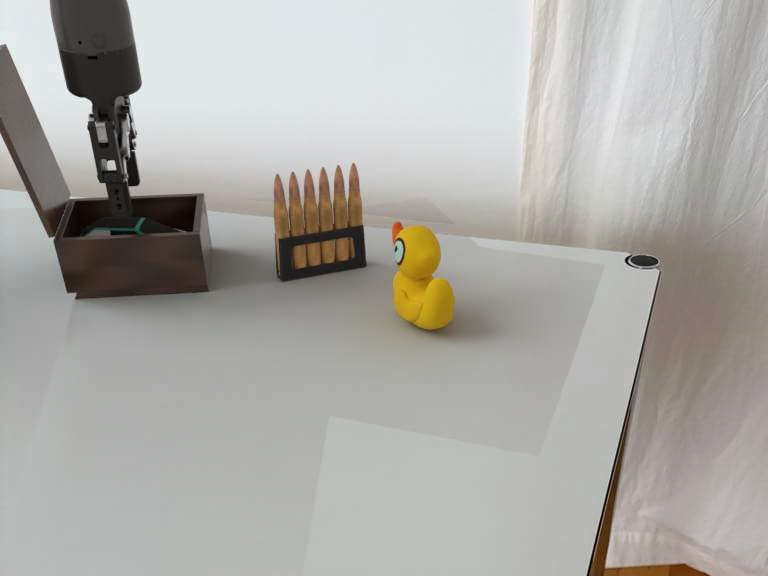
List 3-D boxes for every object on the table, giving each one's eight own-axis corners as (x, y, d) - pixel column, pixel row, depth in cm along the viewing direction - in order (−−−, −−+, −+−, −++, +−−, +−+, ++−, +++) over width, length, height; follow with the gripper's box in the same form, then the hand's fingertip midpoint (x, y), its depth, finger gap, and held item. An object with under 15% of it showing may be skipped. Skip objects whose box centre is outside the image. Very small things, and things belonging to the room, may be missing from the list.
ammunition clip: (280, 281, 105) (271, 178, 97) (276, 275, 106) (266, 171, 98) (366, 266, 108) (364, 164, 100) (361, 260, 109) (358, 158, 101)
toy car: (96, 254, 108) (86, 210, 104) (195, 256, 108) (188, 212, 104) (81, 277, 104) (70, 232, 100) (185, 279, 103) (177, 234, 100)
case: (211, 247, 111) (203, 192, 107) (208, 291, 103) (199, 234, 98) (82, 253, 110) (69, 198, 105) (68, 298, 101) (52, 241, 97)
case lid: (6, 43, 94) (-1, 45, 94) (-19, 76, 85) (-26, 78, 86) (71, 194, 105) (65, 195, 105) (55, 236, 97) (48, 238, 97)
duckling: (374, 302, 101) (372, 215, 95) (416, 292, 103) (417, 206, 96) (421, 348, 94) (423, 258, 87) (465, 337, 96) (471, 247, 89)
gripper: (67, 21, 94) (100, 177, 105) (44, 59, 84) (84, 228, 95) (140, 20, 95) (165, 175, 106) (126, 58, 85) (156, 225, 96)
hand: (127, 200), depth 101 cm, fingers open, 8 cm apart
